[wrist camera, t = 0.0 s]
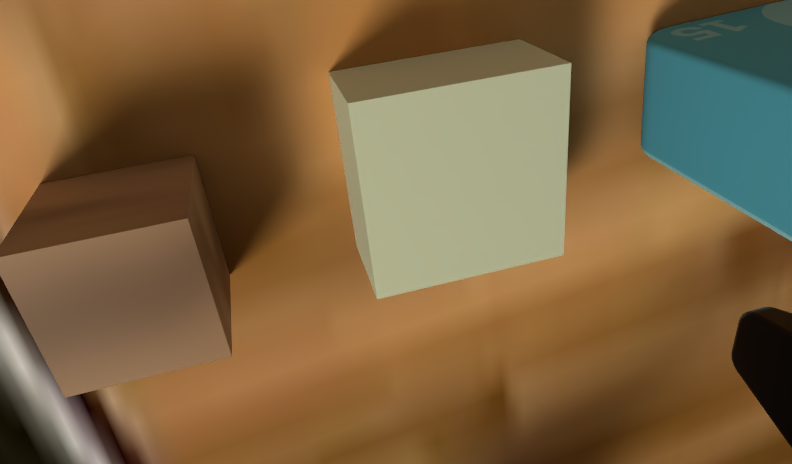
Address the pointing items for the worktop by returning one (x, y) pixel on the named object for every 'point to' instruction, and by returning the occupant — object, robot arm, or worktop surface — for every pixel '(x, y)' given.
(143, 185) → the walnut cube
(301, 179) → the worktop surface
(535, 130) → the sage base block
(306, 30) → the worktop surface
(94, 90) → the worktop surface
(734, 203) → the data package
